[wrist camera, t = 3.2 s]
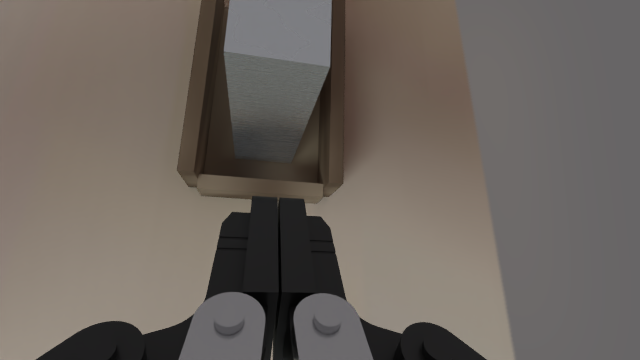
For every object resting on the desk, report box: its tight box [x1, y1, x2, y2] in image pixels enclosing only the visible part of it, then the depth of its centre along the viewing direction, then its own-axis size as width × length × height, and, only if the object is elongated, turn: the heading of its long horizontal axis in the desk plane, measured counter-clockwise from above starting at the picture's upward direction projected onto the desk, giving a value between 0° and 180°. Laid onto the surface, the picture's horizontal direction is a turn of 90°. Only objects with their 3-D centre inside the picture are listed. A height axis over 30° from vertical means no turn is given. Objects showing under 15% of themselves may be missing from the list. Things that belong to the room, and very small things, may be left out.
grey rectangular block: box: [224, 0, 332, 163], centre depth 18 cm, size 4×10×11 cm, turn 178°
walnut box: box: [177, 0, 345, 204], centre depth 21 cm, size 9×14×4 cm, turn 178°
